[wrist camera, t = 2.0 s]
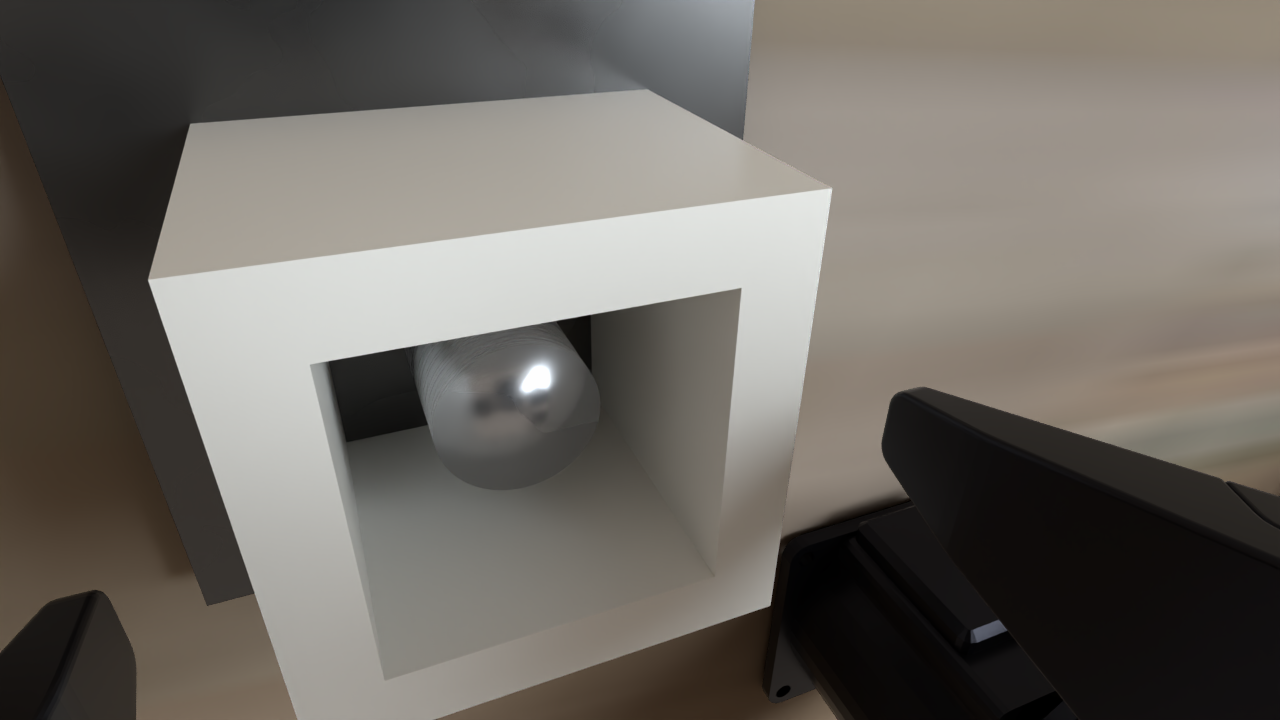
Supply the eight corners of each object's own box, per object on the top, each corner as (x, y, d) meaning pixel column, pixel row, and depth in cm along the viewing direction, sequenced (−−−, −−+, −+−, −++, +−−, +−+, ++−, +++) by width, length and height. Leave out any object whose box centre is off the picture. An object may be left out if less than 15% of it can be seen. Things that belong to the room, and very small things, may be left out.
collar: (640, 422, 16) (770, 605, 12) (295, 501, 13) (311, 761, 9) (647, 88, 12) (832, 188, 8) (189, 123, 10) (148, 279, 6)
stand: (694, 445, 18) (803, 585, 14) (209, 566, 14) (195, 788, 11) (726, -46, 13) (908, -18, 9) (-17, -38, 9) (-182, 13, 6)
